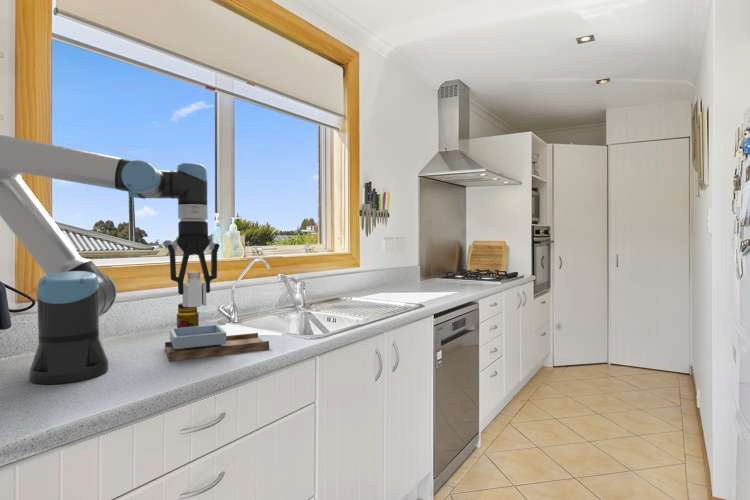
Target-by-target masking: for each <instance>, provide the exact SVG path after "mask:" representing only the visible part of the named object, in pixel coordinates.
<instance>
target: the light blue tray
mask: <svg viewBox="0 0 750 500" xmlns="http://www.w3.org/2000/svg"><path fill="white" fill-rule="evenodd" d="M226 336H227V332H226V331H225V330H224V329H223V328H222V327H221V325H219V324H209V325H208V324H207V325H199V326H194V327H183V328H177V327H174V328H169V340H170V342H171V343H172V345H173V348H174V349H178V351H182V350H186V349H185V348H190V347H199V346H208V345H214V347H218V346H221V344H226Z"/></svg>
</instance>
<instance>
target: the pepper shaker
mask: <svg viewBox="0 0 750 500" xmlns="http://www.w3.org/2000/svg"><path fill="white" fill-rule="evenodd" d="M186 290H187V307H197V308H198V307H199V308H200V307H202V306H203V305H202V282H201V271H188V272H187V282H186Z"/></svg>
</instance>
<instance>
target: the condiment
mask: <svg viewBox="0 0 750 500" xmlns="http://www.w3.org/2000/svg"><path fill="white" fill-rule="evenodd" d="M177 307H178V308H177V314H176V328H183V327H194V326H200V325H199V322H200V321H199V318H200V317H199V312H198V307H183V302H181V303H179V304H178V305H177Z"/></svg>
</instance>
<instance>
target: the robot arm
mask: <svg viewBox="0 0 750 500" xmlns="http://www.w3.org/2000/svg"><path fill="white" fill-rule="evenodd" d="M176 167H177V168H176V169H175V170H163V169H162V170H159V169H158V168H157V167H156V166H155V165H154V164H152V163H150V162H149V161H144V160H139V159H138V160H137V159H136V160H133V159H126V158H122V157H117V156H113V155H112V156H111V155H107V154H101V153H96V152H92V151H91V152H90V151H86V150H82V149H81V150H80V149H77V148H69V147H64V146H61V145H60V146H59V145H55V144H49V143H46V142H38V141H34V140H29V139H24V138H18V137H13V136H8V135H3V134H0V217H1V219H2V220H3V221H4V223H5V224H6V225H7V227H8V228H9V229H10V231H11V232H12V233H13V234H14V235H15V237H16V238H17V239H18V240H19V242H20V243H21V244H22V245H23V247H24V248H25V249H26V251H27V252H28V254H29V255H31V257H32V259H33V260H34V261H35V262H36V264H37V265H38V266H39V268H41V270H42V271H43V273H44V274H45V275H44V276H42V277H41V278H40V279H38V283H37V289H36V297H37V298H36V299H37V328H38V346H37V348H36V351H35V355H34V357H33V360H32V362H31V366H30V368H29V381H30V382H32V383H33V384H39V385H57V384H58V385H59V384H68V383H74V382H80V381H84V380H88V379H92V378H95V377H98V376H101V375H103V374H105V373H106V372H108V370H109V359H108V357H107V354H106V352H105V350H104V348H103V344H102V342H101V339H100V330H99V329H100V322H99V321H100V317H101V316H103V315H104V314H105V313H107V312H109V310H110V309H111V308H112V306H113V305H114V303H115V301H116V299H117V287H116V285H115V283H114V281H113V280H112V278H110V276H108V275H107V274H105V273H102V272H101V271H100V269H99V268H98V267H97V265H96V264H95V263H94V262H93V261H92V259H90V258H85V257H82V256H81V255H80V254H79V253H78V251H77V250H76V248H75V247H74V246H73V245H72V243H71V242H70V241H69V240H68V238H67V237H66V235H65V234H64V233H63V232H62V230H61V228H59V226H58V225H57V224H56V222H55V221H54V219H53V218H52V217H51V216H50V214H49V213H48V211H47V210H46V209H45V208H44V205H42V203H41V202H40V201H39V199H38V198H37V197H36V196H35V194H34V193H33V192H32V190H31V189H30V188H29V187H28V185H27V184H26V182H25V181H24V180H23V179H22V177H23V174H24V175H30V176H37V177H41V178H42V177H43V178H48V179H53V180H54V179H55V180H60V181H66V182H70V183H71V182H72V183H78V184H82V185H87V186H95V187H100V188H101V187H102V188H105V189H106V188H107V189H112V190H118V191H121V192H127V193H128V195H129V196H130V197H131V198H133V199H134V198H135V199H143V200H144V199H145V200H146V199H172V200H173V199H177V217H178V220H180V221H178V225H177V226H178V227H177V228H178V230H177V231H178V237H177V239H176V241H174V242H172V243H168V244H167V245H166V247H167V248H166V249H167V251H168V252H169V270H170V271H169V273H170V280H171V281H173V282H176V283H177V292H178V295H182V303H183V307H187V290H186V284H187V282H186V281H184V279H185V275H186V271H187V266H188V262H189V257H190V256H191V255H197V257H198V260H199V262H200V268H201V271H202V275H203V279H204V280H201V283H202V306H203V307H204V306H207V294H210V292H211V281H212V280H215V279H217V278H218V250H219V248H220V244H219V243H215V242H213V241H211V240H210V238H209V224H208V222H207V221H206V220H208V218H209V217H208V216H209V215H208V173H207V168H206V166H205V165H203V164H201V163H194V162H181V163H178V164H177V166H176ZM177 247H179V249H180V250H181V251H182V252H183V254H182V259H181V264H180V267H179V273H178V276H177V267H176V265H177V264H176V251H177ZM208 247H209V250H210V251H211V252H210V272H209V270H208V264H207V260H206V256H205V251H206V249H207V248H208Z"/></svg>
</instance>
